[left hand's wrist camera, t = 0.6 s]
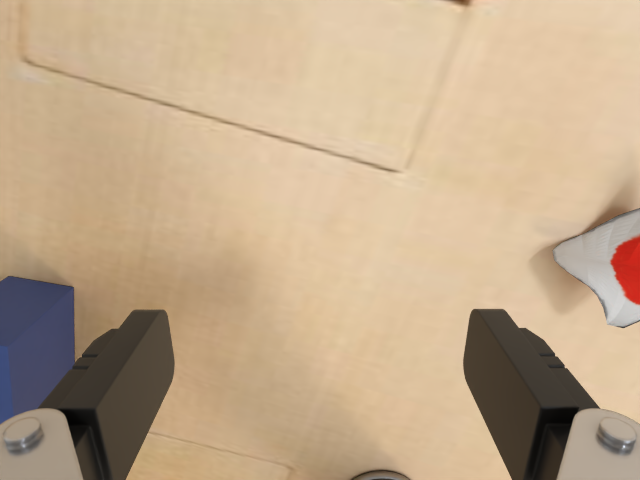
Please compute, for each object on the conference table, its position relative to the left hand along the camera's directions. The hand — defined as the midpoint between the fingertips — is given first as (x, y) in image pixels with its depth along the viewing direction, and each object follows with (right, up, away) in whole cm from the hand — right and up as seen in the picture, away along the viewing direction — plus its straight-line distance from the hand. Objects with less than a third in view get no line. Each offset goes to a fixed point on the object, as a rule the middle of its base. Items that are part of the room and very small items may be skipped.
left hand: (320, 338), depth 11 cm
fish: (+28, +1, +29) cm, 40 cm away
